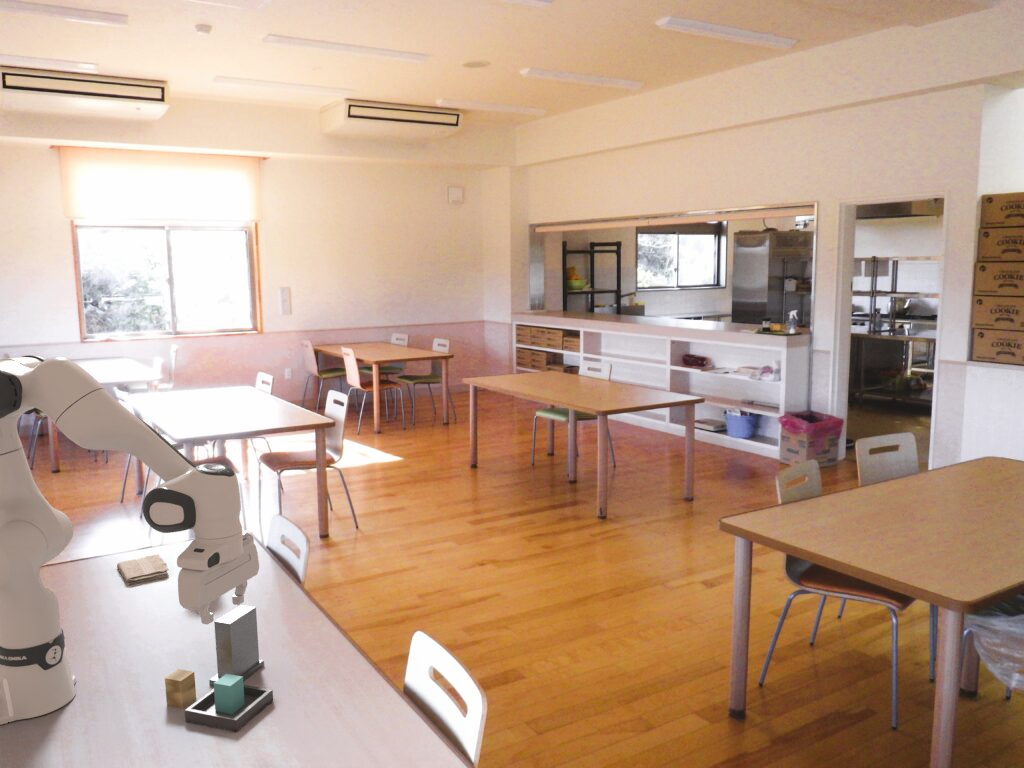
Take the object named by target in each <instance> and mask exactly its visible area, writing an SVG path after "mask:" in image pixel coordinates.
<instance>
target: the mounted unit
mask: <svg viewBox="0 0 1024 768" xmlns="http://www.w3.org/2000/svg"><path fill="white" fill-rule="evenodd" d="M213 622H214V638H215V651H216V666H217V667H216V668H217V673H216V674H215V675H214V676H212V677H211V678H209V681H208V682H209V685H210V686H213V687H214V682H216V681H217V680H218V679H220V678H221V677H223V676H224V675H225V674H231V675H237V676H243V682H244V681H246V680H247V679H249V678H250V677H251V676H252V675H254V674H255V673H256V672H258V671H259V670H260V669H261V668H262V666H263V665H264V666H265V660H264V659H260V653H259V651H260V650H259V636H258V618H257V607H256V606H251V605H244V604H240V605H237V607H235V608H234V609H233V608H232V609H231V610H230V611H229V612H227V613H226V614H224V615H222V616H221V617H219V618H217V619H216V620H215V621H214V620H213ZM264 666H263V667H264ZM258 669H259V670H258ZM254 672H255V673H254ZM253 673H254V674H253ZM249 676H250V677H249Z"/></svg>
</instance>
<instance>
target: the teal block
mask: <svg viewBox="0 0 1024 768" xmlns="http://www.w3.org/2000/svg"><path fill="white" fill-rule="evenodd" d="M243 684H244V681H243V676H237V675H231V674H225V675H224V676H223V677H221V678H220V679H218V680H217V681H216V682H214V686H213V689H214V697H215V711H218V712H223V713H228V714H233V713H234V712H236V711H237V710H238V709H239V708H241V707H242V706H243V705H244V704H245V701H244V685H245V684H244V685H243Z"/></svg>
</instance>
